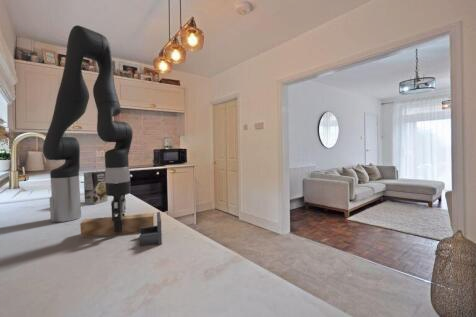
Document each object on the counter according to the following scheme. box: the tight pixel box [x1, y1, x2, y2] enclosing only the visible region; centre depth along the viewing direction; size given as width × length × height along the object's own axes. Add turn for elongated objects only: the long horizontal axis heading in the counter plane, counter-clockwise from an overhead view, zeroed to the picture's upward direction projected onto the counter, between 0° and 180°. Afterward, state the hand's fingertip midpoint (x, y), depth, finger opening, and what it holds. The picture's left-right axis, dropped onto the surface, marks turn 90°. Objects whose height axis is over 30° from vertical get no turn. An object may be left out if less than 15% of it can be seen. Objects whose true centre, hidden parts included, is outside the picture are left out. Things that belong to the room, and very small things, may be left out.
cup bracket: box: [139, 211, 163, 247], centre depth 72 cm, size 6×10×7 cm, turn 20°
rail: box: [79, 212, 155, 238], centre depth 79 cm, size 22×4×5 cm, turn 106°
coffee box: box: [83, 170, 109, 205], centre depth 122 cm, size 9×6×16 cm
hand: (119, 227), depth 79 cm, fingers open, 7 cm apart
